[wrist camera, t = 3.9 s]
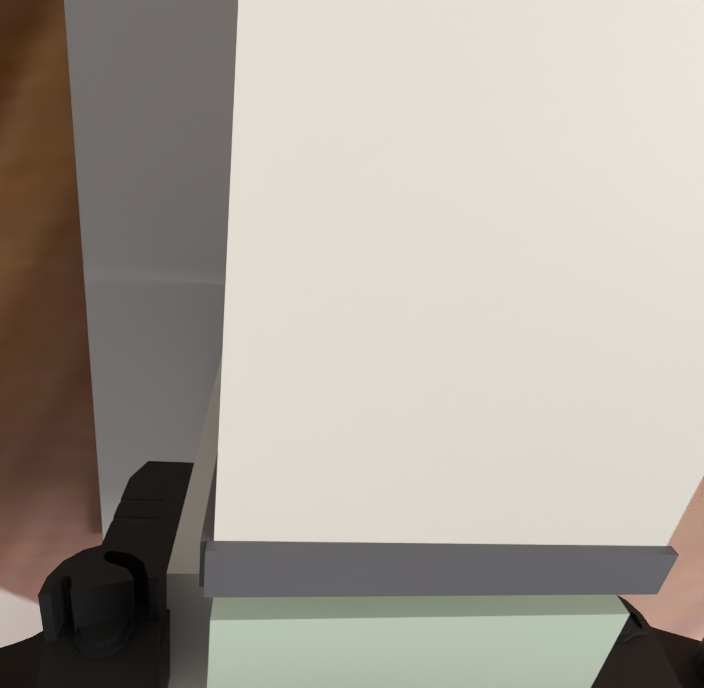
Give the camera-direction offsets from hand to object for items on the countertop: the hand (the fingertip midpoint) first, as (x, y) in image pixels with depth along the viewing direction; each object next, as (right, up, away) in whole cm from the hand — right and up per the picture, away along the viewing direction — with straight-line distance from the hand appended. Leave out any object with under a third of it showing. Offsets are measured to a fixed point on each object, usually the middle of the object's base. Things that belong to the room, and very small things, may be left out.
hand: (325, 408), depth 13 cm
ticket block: (+1, +7, -2) cm, 7 cm away
